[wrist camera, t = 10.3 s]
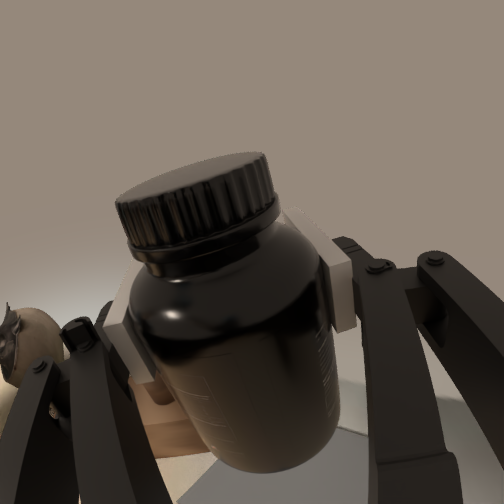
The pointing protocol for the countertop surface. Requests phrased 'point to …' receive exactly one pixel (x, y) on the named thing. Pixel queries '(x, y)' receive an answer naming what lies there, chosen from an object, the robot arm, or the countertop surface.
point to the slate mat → (293, 479)
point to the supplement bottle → (233, 312)
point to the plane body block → (165, 421)
